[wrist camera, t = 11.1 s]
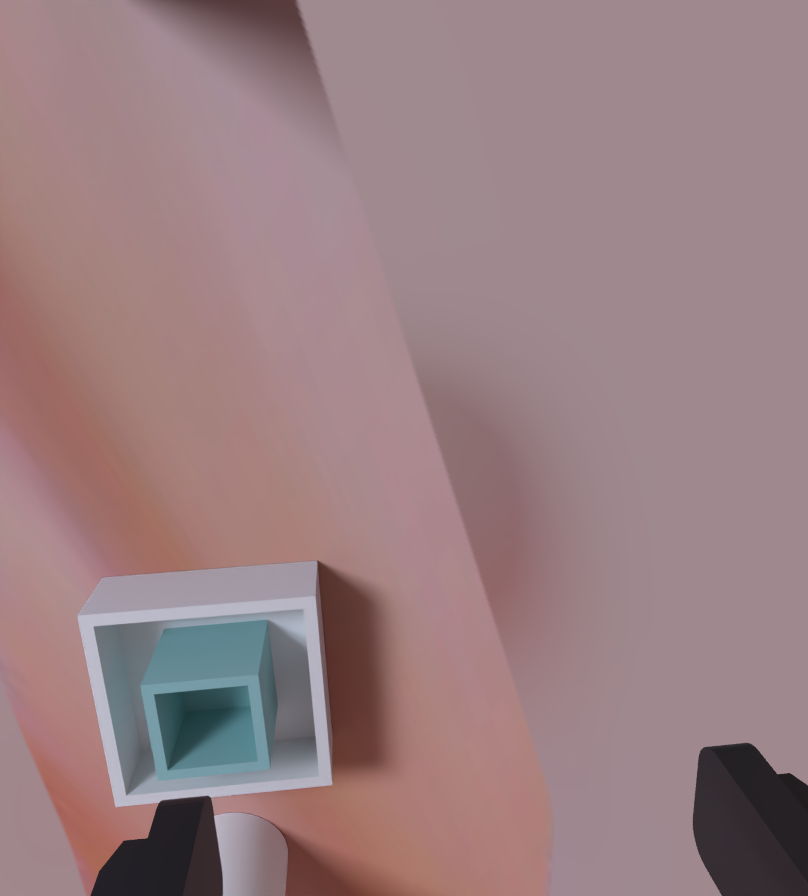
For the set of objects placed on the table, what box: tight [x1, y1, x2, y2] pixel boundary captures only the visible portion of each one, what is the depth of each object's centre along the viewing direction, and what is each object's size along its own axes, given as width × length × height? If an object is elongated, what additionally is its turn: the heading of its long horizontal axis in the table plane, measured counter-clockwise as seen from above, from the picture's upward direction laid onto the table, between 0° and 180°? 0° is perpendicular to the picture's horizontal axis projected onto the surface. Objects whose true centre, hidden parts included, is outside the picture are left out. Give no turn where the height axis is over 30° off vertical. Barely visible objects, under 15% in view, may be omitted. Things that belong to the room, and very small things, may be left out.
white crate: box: [77, 561, 333, 807], centre depth 42 cm, size 12×12×4 cm
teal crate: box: [140, 619, 278, 781], centre depth 41 cm, size 6×6×6 cm
